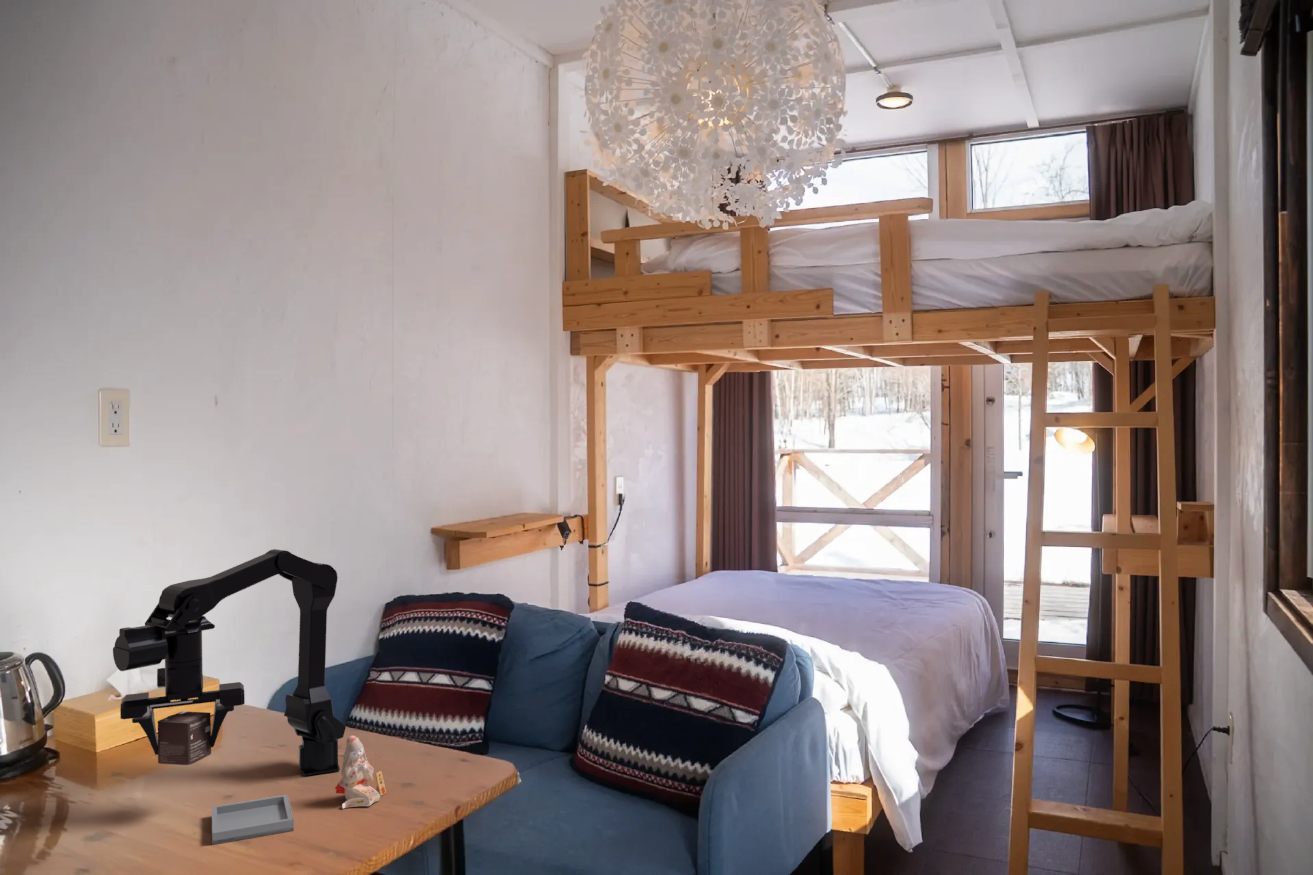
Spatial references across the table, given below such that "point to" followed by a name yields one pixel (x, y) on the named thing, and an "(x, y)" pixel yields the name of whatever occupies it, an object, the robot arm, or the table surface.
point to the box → (184, 738)
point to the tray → (251, 819)
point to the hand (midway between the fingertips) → (184, 750)
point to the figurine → (358, 777)
